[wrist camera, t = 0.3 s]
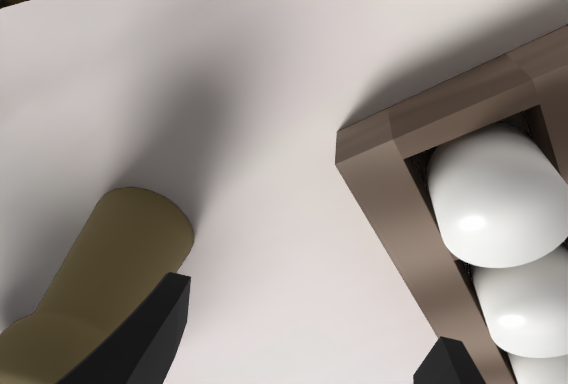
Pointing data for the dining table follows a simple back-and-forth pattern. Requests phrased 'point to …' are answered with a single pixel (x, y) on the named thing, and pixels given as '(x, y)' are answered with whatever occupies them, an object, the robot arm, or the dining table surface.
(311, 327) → the dining table surface
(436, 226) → the button board
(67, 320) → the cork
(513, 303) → the middle button
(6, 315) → the dining table surface
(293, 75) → the dining table surface
